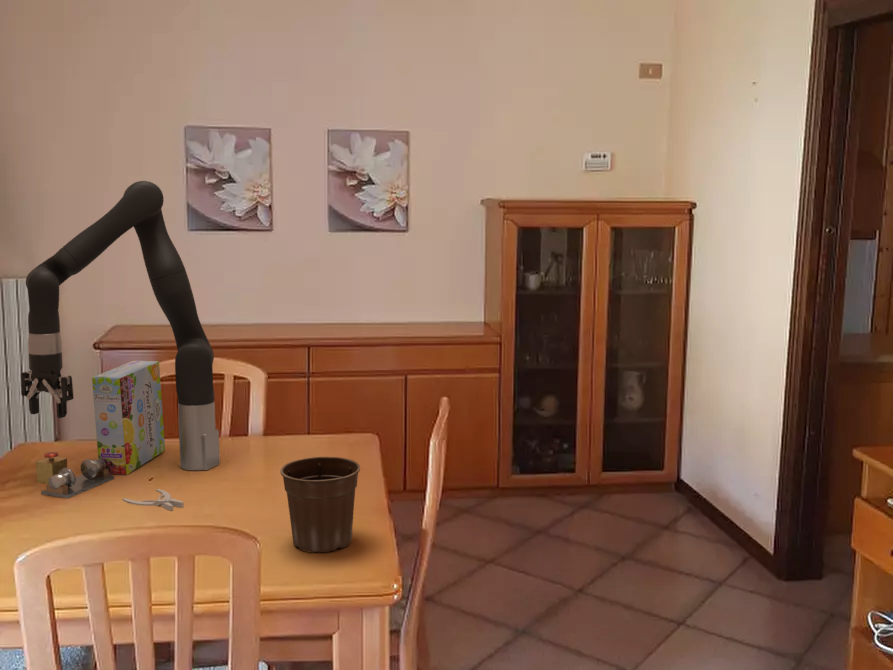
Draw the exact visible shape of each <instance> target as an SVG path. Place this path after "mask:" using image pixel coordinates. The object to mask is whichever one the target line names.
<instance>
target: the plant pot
mask: <svg viewBox="0 0 893 670" xmlns="http://www.w3.org/2000/svg"><path fill="white" fill-rule="evenodd" d="M360 471H361V465H360V463H358V462H357V461H355V460H353V459H350V458H346V457H339V456H312V457H307V458H305V457H304V458H302V459H301V458H300V459H297V460H296V459H295V460H292V461H290V462H287V463H286V464H283V466H281V468H280V475H281V476H282V479H283V485H284V486H283V487H284V490H285V492H286V496H287V504H288V512H289V519H290V528H291V535H292V537H291V538H292V543H293V545H294V547H295V548H298V549H300V551H303V552H310V553H314V552H318V553H320V552H322V553H327V552H328V553H330V552H335V551H336V550H337V549H338V548H341V549H344V548H345V547H347V546H349V545H350V544H351V542H352V540H353V539H352V538H353V523H354V522H353V521H354V508H355V498H356V497H355V495H356V489H357V487H358V476H359V473H360Z"/></svg>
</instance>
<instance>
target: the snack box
mask: <svg viewBox="0 0 893 670" xmlns="http://www.w3.org/2000/svg"><path fill="white" fill-rule="evenodd" d="M160 371H161V370H160V361H159V360H158V361H156V360H150V361H149V360H132V361H129V362H126V363H124V364H122V365H119V366H117V367H115V368H114V367H113V368H112V369H109V370H107V371H105V372H102V373H100V374H99V373H98V374H97V375H95V376H92V377H91V384H92V396H93V406H94V408H93V409H94V419H95V420H94V421H95V434H96V447H97V448H96V449H97V459H98V458H102V459H103V460H104V461H105V463H106V469H109V475H123V476H128V475H129V474H131V473H132V472H134V471H135V470H137V469H138V468H140V467H141V466H143V465H145V464H146V463H148V462H149V461H151V460H152V459H154V458H156V457H157V456H158V455H159V456H160V454H162V453H163V452H165V451H166V443H165V442H166V441H165V440H166V439H165V430H164V429H165V428H164V414H163V400H162V387H161V386H162V385H161V372H160Z"/></svg>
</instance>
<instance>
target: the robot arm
mask: <svg viewBox="0 0 893 670" xmlns="http://www.w3.org/2000/svg"><path fill="white" fill-rule="evenodd" d="M163 194H164V193H163V191H162V190H161V188H160V187H159V186H158V185H157V184H156V183H154V182H152V181H147V180H140V181H139V180H138V181H135V182H133V183H131V184H130V185H129V186H128V187H126V189H125V191H124V193H123V196H122V197H121V198H120V200H119V201H118V202H117V203H116V204H115V205H114V206H113V207H112V208H111V209H109V211H107V213H105V214H104V215H103V216H102V217H100V218H99V219H97V220H96V221H95V222H94V223H92V224H91V225H89V226H88V227H86V228H85V229H84V230H82V231H80V232H79V233H78V234H77V235H75V236H74V237H73V238H72V239H70V240H69V241H68V242H67V243H66V244H65V245H63V246H62V247H61V248H60V249H59V250H58V251H57V252H55V253H54V254H53V255H51V256H50V257H49V258H47V259H46V260H44V261H42V262H41V263H39V264H38V265H37V266H35V267H34V268H33V269H32V270H31V271H30V272H29V273H28V274H27V275H26V279H25V287H26V288H27V297H28V308H29V311H28V315H27V317H28V318H27V324H28V325H27V327H28V328H27V329H28V338H27V340H28V341H27V350H28V351H27V352H28V368H29V370H28V371H23V372H21V374H20V384H21V385H20V389H21V390H20V394H21V396H22V397H26V398H27V400H28V409H29V413H30V414H31V415H37V414H39V413H40V402H39V401H40V400H39V398H38V397H39V396H40V394H41V392H44V393H47V394H48V393H49V395H50V396H51V397H54V399H55V401H56V417H57V418H58V419H62V418H65V417H66V416H67V413H68V407H67V404H68V402H69V401H72V400H74V399H75V398H74V387H73V386H74V385H73V377H72V376H71V375H65V376H62V374H61V371H62V369H63V350H62V349H63V346H62V345H63V344H62V343H63V342H62V335H61V326H60V325H61V323H60V322H61V321H60V314H59V307H60V287H61V285H62V284H64V282H66V281H68V279H69V278H71V277H72V276H74V275H75V276H76V275H77V274H79V273H80V272H82V271H83V270H84V269H85V268H86V267H88V266H89V265H90V264H91V263H92V262H93V261H95V260H96V259H97V258H98V257H99V256H100V255H102V254H103V252H105V251H106V250H108V248H109V247H110V246H111V245H112V244H113V243H115V242H116V241H117V240H118V239H120V237H122V235H124V234H125V233H127V232H128V231H129V230H131V229H132V228H133V229H134V230H135V232H136V235H137V238H138V241H139V244H140V248H141V253H142V259H143V261H144V266H145V269H146V272H147V276H148V279H149V283H150V285H151V288H152V292H153V295H154V297H155V299H156V301H157V303H158V305H159V307H160V308H161V310H162V312H163V313H164V315H165V317H166V319H167V321H168V323H169V325H170V327H171V329H172V333H173V337H174V341H175V344H176V351H177V352H176V353H175V354H176V355H175V359H174V371H175V372H174V373H175V375H174V376H175V387H176V388H175V389H176V394H177V395H176V396H177V406H178V407H177V410H178V415H177V416H178V436H179V437H178V439H179V441H178V442H179V462H180V463H179V466H180V469H183V470H186V471H208V470H210V469H212V468H214V467H216V466H219V465H220V464H221V463H220V461H221V460H220V433H219V432H220V431H219V429H217V428H216V408H215V407H216V406H215V389H214V375H213V374H214V373H213V372H214V371H213V364H214V359H215V354H214V350H213V348H212V346H211V344H210V342H209V339H208V337H207V335H206V333H205V330H204V327H203V326H202V324H201V322H200V319H199V314H198V310H197V306H196V301H195V297H194V293H193V290H192V286H191V282H190V280H189V276H188V273H187V271H186V268H185V265H184V262H183V260H182V258H181V256H180V253H179V252H178V250H177V248H176V246H175V244H174V242H173V241H172V238H170V235H169V233H168V229H167V226H166V222H165V220H164V215H163V210H162V208H163V205H164V201H165V200H164V195H163Z"/></svg>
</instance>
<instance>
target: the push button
mask: <svg viewBox="0 0 893 670" xmlns="http://www.w3.org/2000/svg"><path fill="white" fill-rule="evenodd" d="M43 457H44V458H42V459H39V460H37V461H35V467H36V468H35V469H36V483H37V484H43V485H48V484H49V478H50V477H52V476H54V475H57V474H58V473H59V471H60V470H61V469H63V468H68V458H66V457H62V456H60V457H59V452H58V451H48V452H45V453H44V455H43Z"/></svg>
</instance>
